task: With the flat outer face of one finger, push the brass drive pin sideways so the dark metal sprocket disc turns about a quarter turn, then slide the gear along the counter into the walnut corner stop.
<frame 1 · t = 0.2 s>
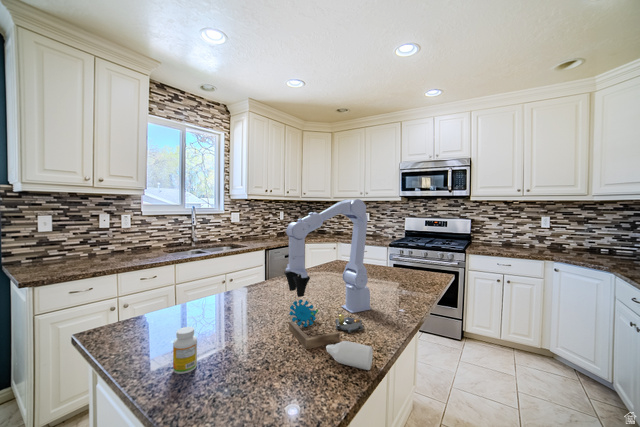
hand: (296, 293, 100), 10 cm above the countertop, tool pointing down, fingers open, 7 cm apart
white plastic bottle: (347, 364, 73), on the countertop
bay: (316, 334, 90), on the countertop
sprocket: (348, 320, 95), point 2 cm above the countertop, hinge at 0.0°
supplement bottle: (185, 369, 70), on the countertop
gear: (304, 323, 98), on the countertop
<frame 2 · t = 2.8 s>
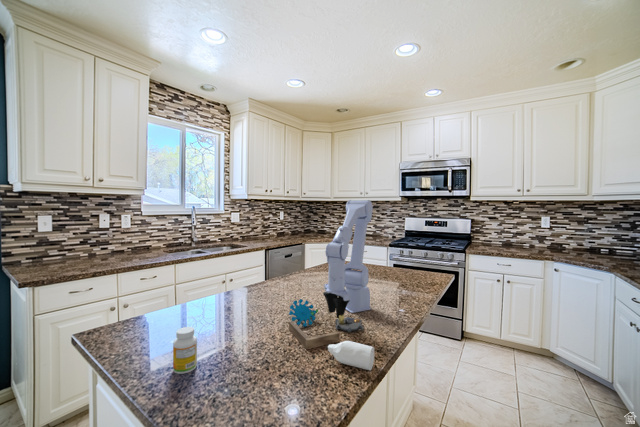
hand: (336, 314, 98), 3 cm above the countertop, tool pointing down, fingers open, 5 cm apart
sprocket: (348, 320, 95), point 2 cm above the countertop, hinge at 0.1°, touching gripper
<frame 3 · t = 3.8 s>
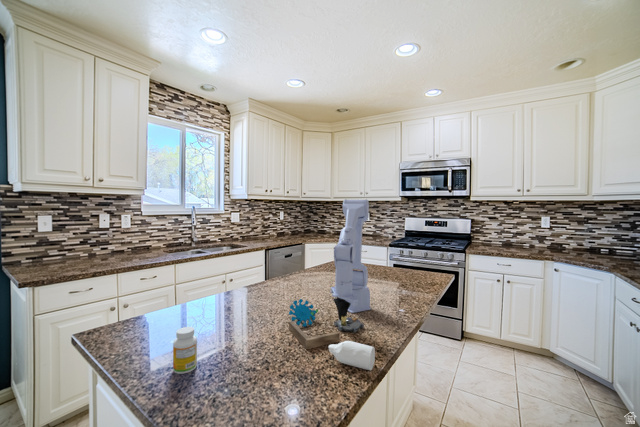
hand: (342, 320, 94), 3 cm above the countertop, tool pointing down, fingers closed, pressing on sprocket
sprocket: (348, 320, 95), point 2 cm above the countertop, hinge at 21.2°, touching gripper
everything else where it was.
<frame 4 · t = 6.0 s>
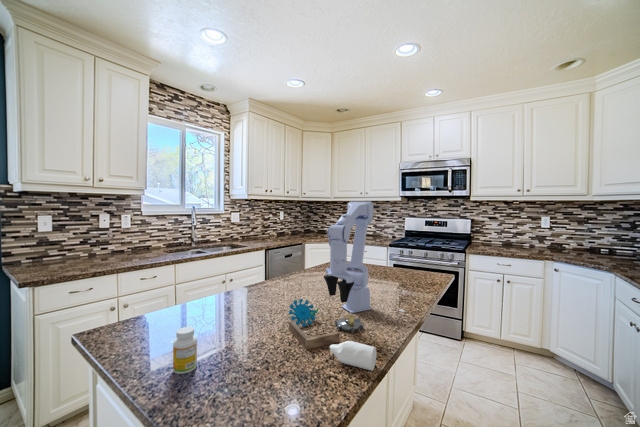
hand: (338, 298, 97), 9 cm above the countertop, tool pointing down, fingers open, 7 cm apart
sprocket: (348, 320, 95), point 2 cm above the countertop, hinge at 71.6°
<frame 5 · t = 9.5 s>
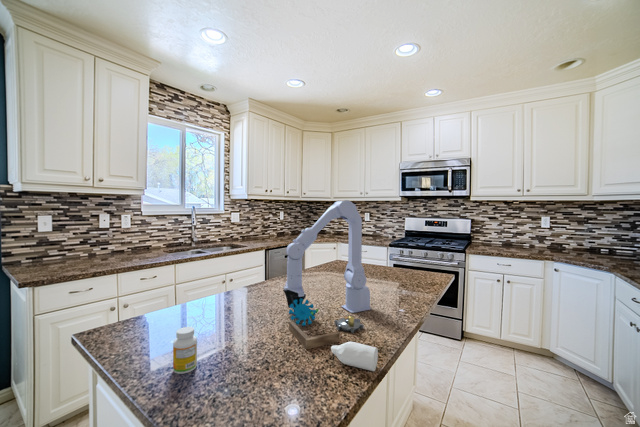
hand: (294, 310, 107), 1 cm above the countertop, tool pointing down, fingers open, 5 cm apart
gear: (303, 322, 99), on the countertop, touching gripper
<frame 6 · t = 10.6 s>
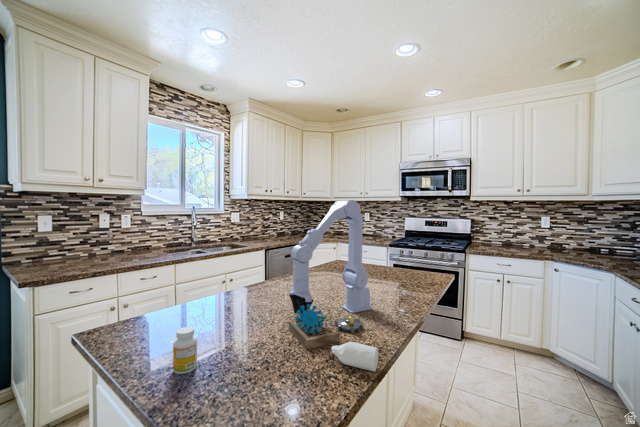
hand: (300, 315, 101), 1 cm above the countertop, tool pointing down, fingers open, 6 cm apart
gear: (311, 329, 93), on the countertop, touching gripper
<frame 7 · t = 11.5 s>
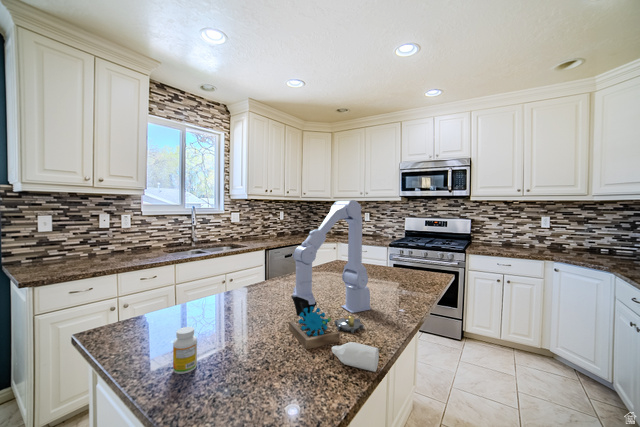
hand: (303, 318, 99), 1 cm above the countertop, tool pointing down, fingers open, 6 cm apart
gear: (314, 333, 91), on the countertop, touching gripper
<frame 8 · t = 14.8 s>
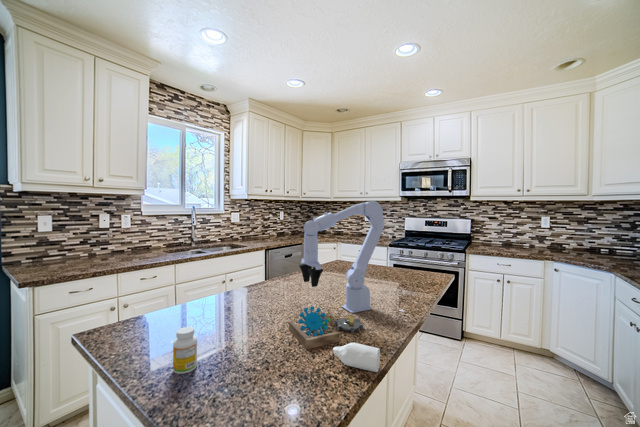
hand: (310, 283, 112), 10 cm above the countertop, tool pointing down, fingers open, 7 cm apart
gear: (314, 333, 91), on the countertop
at the end: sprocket at +72° (first picture: +0°); gear inside the target area (1.7 cm from its centre), on the countertop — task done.
